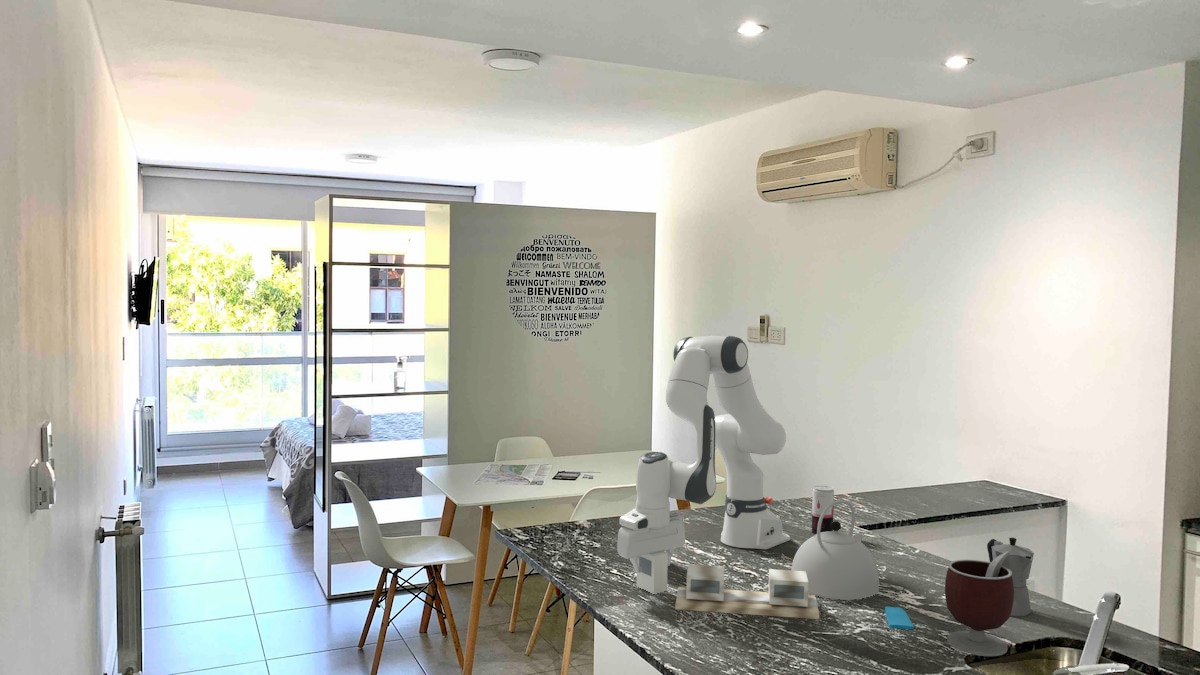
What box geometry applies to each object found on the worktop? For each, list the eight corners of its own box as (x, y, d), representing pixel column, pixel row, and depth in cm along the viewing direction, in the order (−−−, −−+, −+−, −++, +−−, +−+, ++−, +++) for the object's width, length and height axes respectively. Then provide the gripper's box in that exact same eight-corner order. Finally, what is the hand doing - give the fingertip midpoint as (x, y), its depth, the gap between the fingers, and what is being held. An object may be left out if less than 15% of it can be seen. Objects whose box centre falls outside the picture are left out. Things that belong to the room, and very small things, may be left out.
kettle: (824, 563, 247) (826, 485, 245) (899, 583, 230) (901, 500, 229) (773, 583, 229) (775, 500, 228) (850, 607, 213) (853, 517, 212)
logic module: (649, 583, 228) (650, 546, 227) (667, 591, 222) (667, 553, 222) (636, 587, 225) (636, 549, 225) (653, 594, 220) (654, 556, 219)
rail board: (675, 609, 210) (675, 576, 209) (678, 592, 222) (679, 561, 221) (819, 619, 205) (819, 585, 204) (814, 601, 216) (815, 569, 216)
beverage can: (837, 535, 275) (838, 488, 274) (823, 538, 271) (824, 491, 270) (821, 530, 280) (822, 484, 279) (807, 533, 276) (808, 487, 276)
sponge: (910, 608, 210) (885, 603, 212) (915, 627, 199) (889, 622, 200) (909, 614, 210) (884, 609, 212) (914, 634, 199) (888, 628, 200)
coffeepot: (1045, 618, 207) (1049, 544, 206) (1011, 621, 205) (1014, 546, 204) (1002, 595, 222) (1005, 526, 221) (970, 598, 220) (972, 528, 219)
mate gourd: (978, 662, 182) (982, 569, 181) (929, 637, 195) (932, 550, 193) (1031, 650, 188) (1035, 560, 187) (980, 627, 201) (983, 542, 200)
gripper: (675, 507, 231) (674, 558, 232) (614, 519, 219) (613, 572, 220) (690, 513, 226) (689, 564, 227) (629, 524, 214) (628, 579, 215)
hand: (651, 568), depth 224 cm, fingers open, 8 cm apart
